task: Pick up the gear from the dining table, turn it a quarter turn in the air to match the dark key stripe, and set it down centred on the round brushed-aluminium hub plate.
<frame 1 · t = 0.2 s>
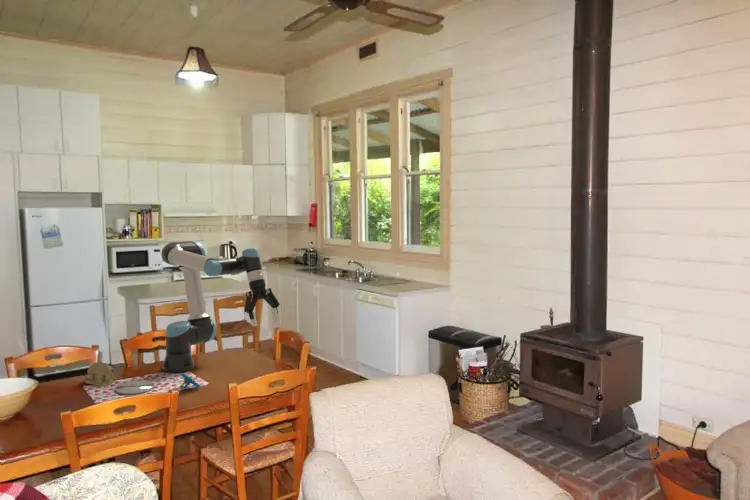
hand: (266, 323, 264), 28 cm above the table, tool tilted 20°, fingers open, 13 cm apart
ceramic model: (100, 382, 259), on the table
gear: (189, 388, 253), on the table
hub plate: (135, 388, 251), on the table
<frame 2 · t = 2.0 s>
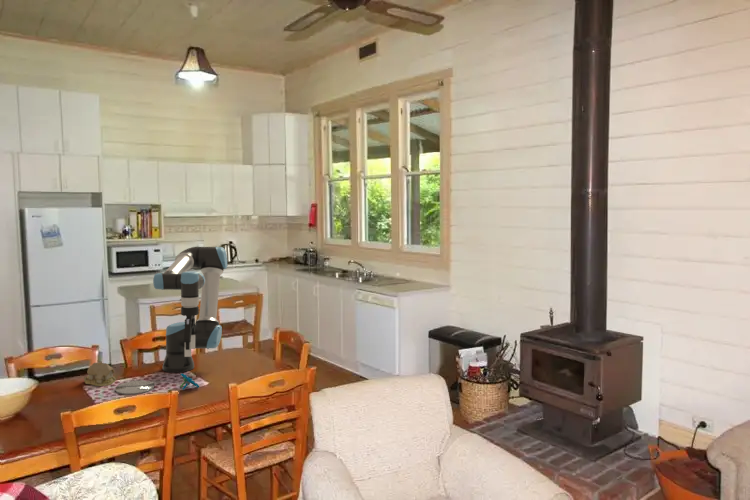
hand: (190, 352, 252), 16 cm above the table, tool pointing down, fingers open, 13 cm apart
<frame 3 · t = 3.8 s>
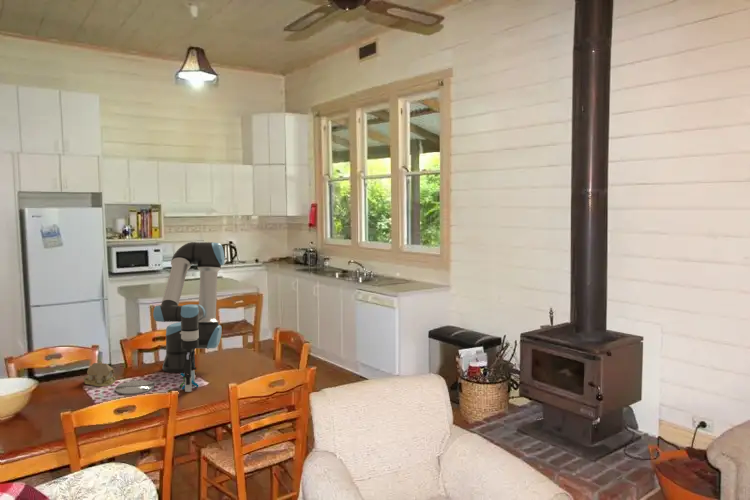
hand: (189, 387, 253), 0 cm above the table, tool pointing down, fingers closed on gear, 9 cm apart
gear: (189, 388, 254), on the table, touching gripper
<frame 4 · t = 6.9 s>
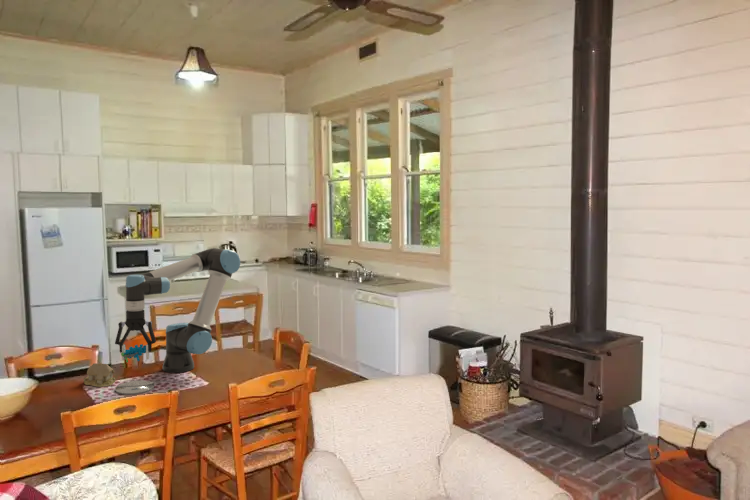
hand: (135, 359, 250), 14 cm above the table, tool pointing down, fingers closed on gear, 9 cm apart
gear: (134, 360, 249), point 13 cm above the table, touching gripper
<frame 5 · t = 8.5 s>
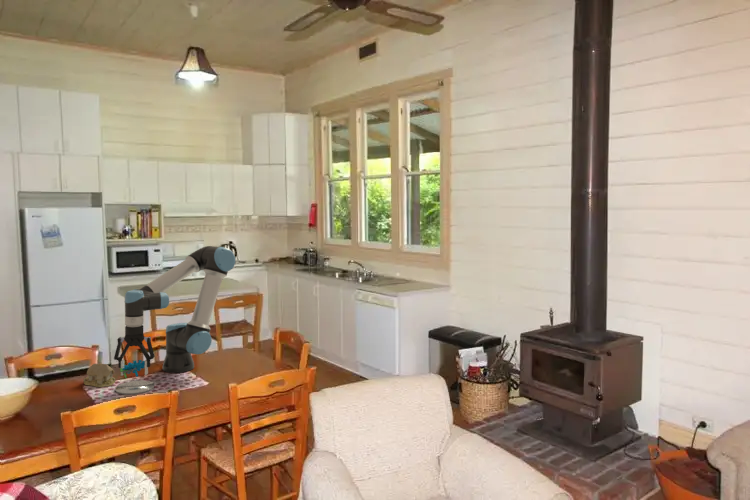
hand: (134, 374, 250), 7 cm above the table, tool pointing down, fingers closed on gear, 9 cm apart
gear: (133, 375, 250), point 6 cm above the table, touching gripper
when the fingers open (3 cm above the table, at t = 9.7 s): gear drops 1 cm, resting on hub plate.
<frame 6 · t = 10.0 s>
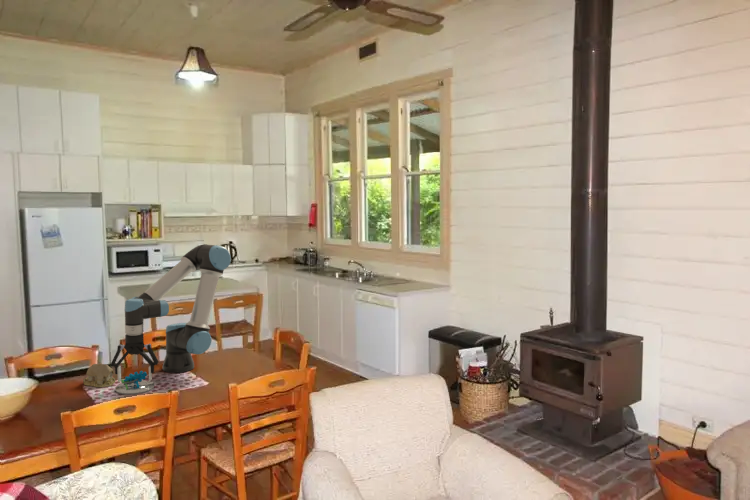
hand: (134, 380, 251), 4 cm above the table, tool pointing down, fingers open, 12 cm apart
gear: (134, 386, 250), point 1 cm above the table, touching hub plate
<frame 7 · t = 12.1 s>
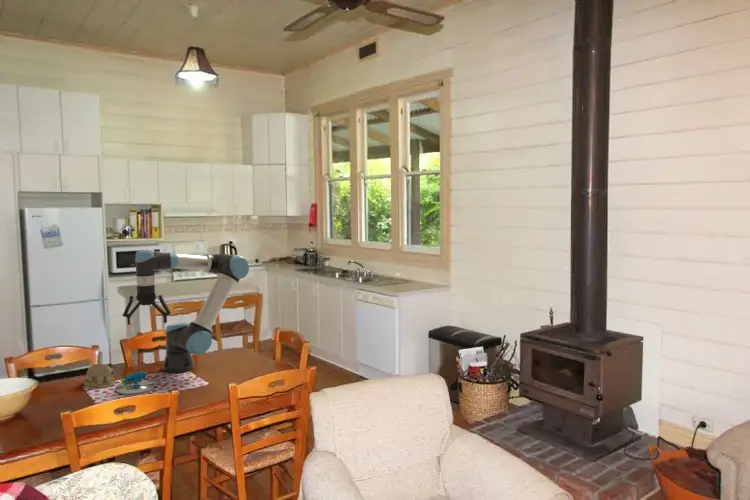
hand: (147, 330, 254), 25 cm above the table, tool pointing down, fingers open, 13 cm apart
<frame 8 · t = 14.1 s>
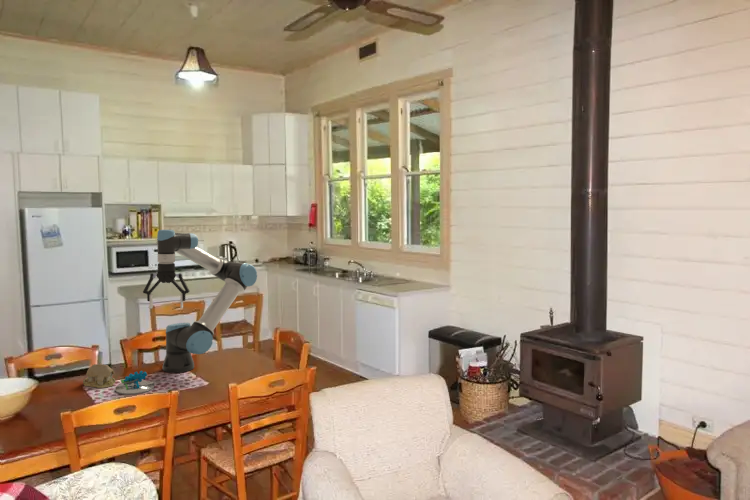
hand: (166, 308, 260), 35 cm above the table, tool pointing down, fingers open, 13 cm apart
at the end: gear 0.5 cm from the hub plate (horizontally); gear touching hub plate; the gripper is holding nothing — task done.
